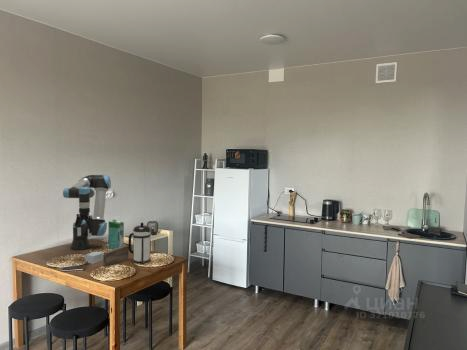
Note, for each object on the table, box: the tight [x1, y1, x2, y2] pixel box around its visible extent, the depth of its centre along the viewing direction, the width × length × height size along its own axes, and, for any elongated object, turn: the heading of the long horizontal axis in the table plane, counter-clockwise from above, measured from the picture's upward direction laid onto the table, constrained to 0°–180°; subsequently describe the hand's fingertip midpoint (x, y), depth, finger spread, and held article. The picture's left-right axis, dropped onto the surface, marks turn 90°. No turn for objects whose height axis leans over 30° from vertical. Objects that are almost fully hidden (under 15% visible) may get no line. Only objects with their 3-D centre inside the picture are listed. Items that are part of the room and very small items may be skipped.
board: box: [102, 245, 129, 267], centre depth 262 cm, size 4×22×10 cm, turn 156°
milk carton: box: [107, 219, 125, 249], centre depth 295 cm, size 9×9×25 cm
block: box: [84, 251, 103, 265], centre depth 264 cm, size 8×10×6 cm
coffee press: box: [128, 222, 152, 264], centre depth 265 cm, size 17×16×30 cm
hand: (84, 236), depth 267 cm, fingers open, 10 cm apart
